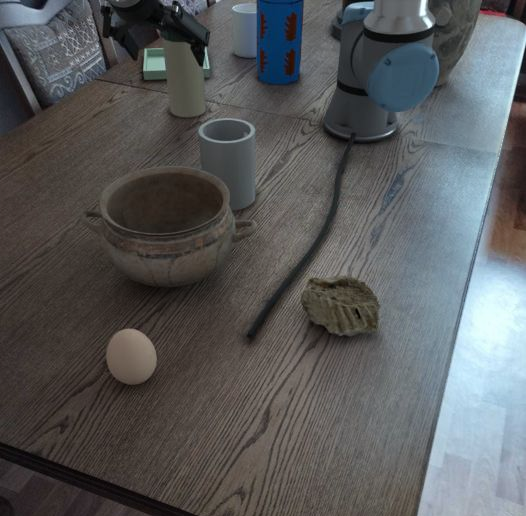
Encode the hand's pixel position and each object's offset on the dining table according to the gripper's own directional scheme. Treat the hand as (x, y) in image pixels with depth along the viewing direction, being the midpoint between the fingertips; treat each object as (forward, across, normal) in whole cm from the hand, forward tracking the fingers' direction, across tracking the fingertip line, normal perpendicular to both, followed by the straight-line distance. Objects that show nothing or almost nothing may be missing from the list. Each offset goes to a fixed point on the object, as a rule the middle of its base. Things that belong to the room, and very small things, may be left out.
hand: (169, 56), depth 108 cm
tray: (+33, -11, +14) cm, 37 cm away
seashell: (-28, +41, -48) cm, 69 cm away
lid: (+3, 0, +8) cm, 9 cm away
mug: (+44, +5, +25) cm, 51 cm away
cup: (-9, +19, -28) cm, 35 cm away
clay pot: (+37, +49, +17) cm, 63 cm away
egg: (-39, +18, -59) cm, 73 cm away
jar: (+15, 0, -4) cm, 16 cm away
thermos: (+33, +16, +14) cm, 39 cm away
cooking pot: (-24, +16, -44) cm, 52 cm away
